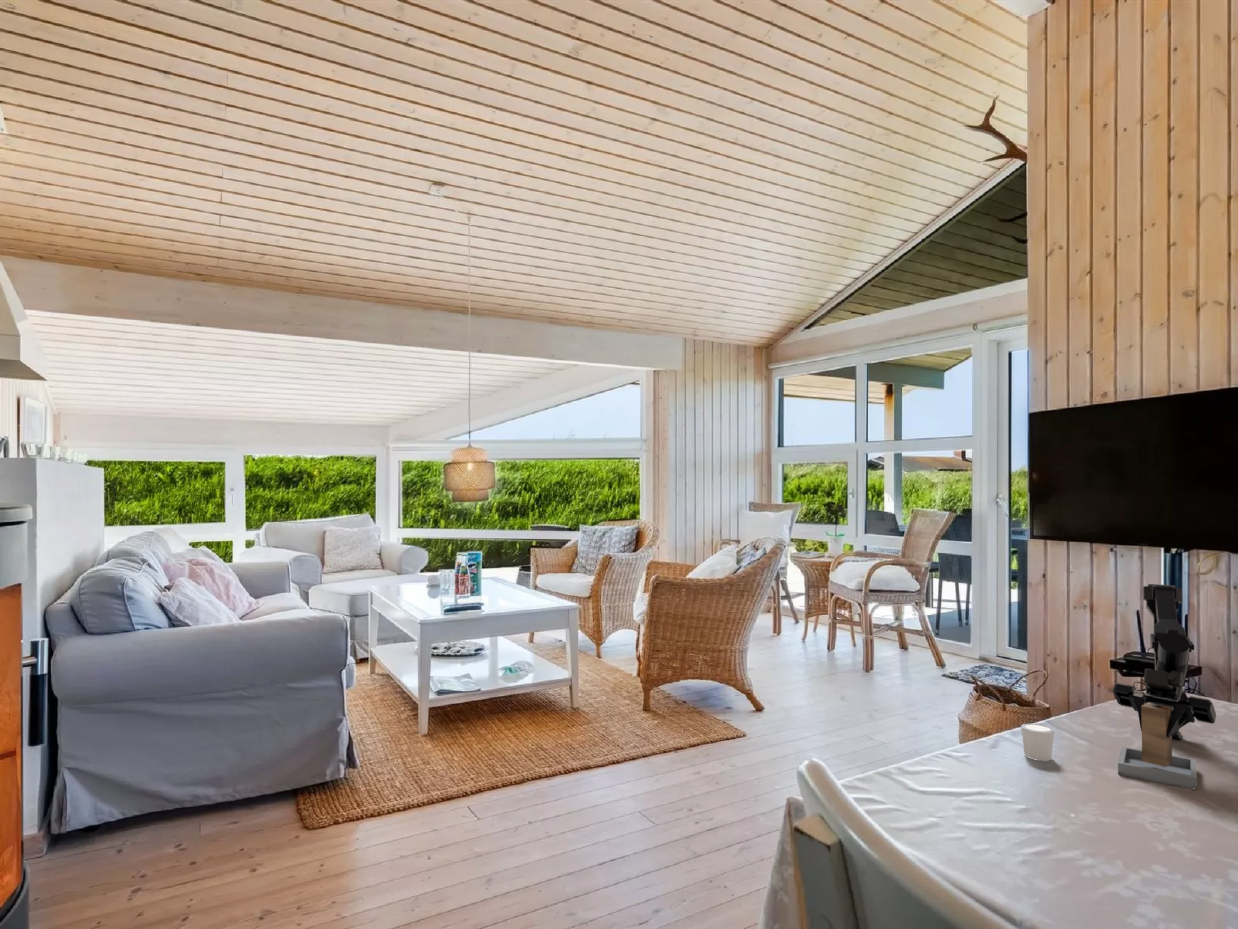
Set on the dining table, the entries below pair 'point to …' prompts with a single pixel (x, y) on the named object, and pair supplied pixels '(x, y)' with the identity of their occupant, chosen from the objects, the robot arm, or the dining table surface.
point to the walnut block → (1156, 734)
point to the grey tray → (1158, 769)
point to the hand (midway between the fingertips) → (1154, 733)
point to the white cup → (1037, 741)
